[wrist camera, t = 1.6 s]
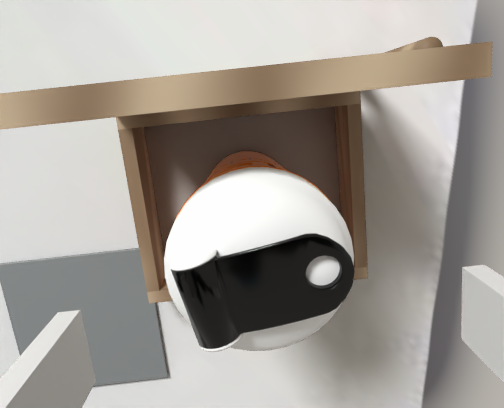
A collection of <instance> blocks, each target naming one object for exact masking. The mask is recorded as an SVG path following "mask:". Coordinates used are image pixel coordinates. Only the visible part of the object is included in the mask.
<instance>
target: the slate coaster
mask: <svg viewBox="0 0 504 408" xmlns="http://www.w3.org/2000/svg"><path fill="white" fill-rule="evenodd" d="M0 282H1V286H2V290H3V293H4V297H5V301H6V305H7V308H8V312H9V316H10V320H11V323H12V327H13V331H14V335H15V338H16V342H17V346H18V350H19V353H20V356H21V354H22V353H23V352H24V351H25V350H26V349H27V347H28V346H29V345H30V344H31V343H32V342H33V341H34V339H35V338H36V337H37V336H38V335H39V334H40V332H41V331H42V330H43V329H44V328H45V327H46V325H47V324H48V323H49V322H50V321H51V320H52V319H53V317H54V316H55V315H56V314H57V313H58V312H66V311H75V310H80V311H81V315H82V320H83V324H84V329H85V333H86V338H87V342H88V347H89V351H90V356H91V361H92V365H93V370H94V374H95V379H96V381H95V383H94V385H93V386H99V385H108V384H116V383H124V382H133V381H141V380H150V379H158V378H167V377H168V371H167V366H166V360H165V354H164V348H163V343H162V337H161V331H160V325H159V320H158V314H157V308H156V303H149V300H148V295H147V289H146V284H145V278H144V272H143V267H142V261H141V256H140V250H139V248H134V249H125V250H117V251H108V252H99V253H90V254H81V255H72V256H64V257H55V258H46V259H37V260H28V261H19V262H11V263H2V264H0Z"/></svg>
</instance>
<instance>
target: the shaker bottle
mask: <svg viewBox="0 0 504 408" xmlns="http://www.w3.org/2000/svg"><path fill="white" fill-rule="evenodd" d="M164 269H165V279H166V283H167V286H168V290H169V294H170V296H171V298H172V300H173V302H174V304H175V305H176V307H177V309H178V311H179V312H180V313H181V314H182V316H183V317H184V318H185V319H186V321H187V322H188V323H189V324H190V325H191V326H192V327H193V330H194V332H195V335H196V338H197V340H198V343H199V345H200V347H201V348H202V349H203V350H205V351H208V352H217V351H222V350H225V349H227V348H229V347H231V348H235V349H242V350H248V351H265V350H273V349H278V348H283V347H287V346H289V345H292V344H294V343H297V342H299V341H302V340H304V339H305V338H307V337H309V336H310V335H312V334H313V333H315V332H317V331H318V330H319V329H320V328H321V327H322V326H323V325H325V324H326V323H327V322H328V321H329V320H330V319H331V318H332V316H333V315H334V314H335V313H336V311H337V310H338V309H339V307H340V306H341V304H342V302H343V301H344V300H345V298H346V296H347V294H348V293H349V291H350V289H351V287H352V284H353V279H354V272H355V269H354V252H353V246H352V239H351V236H350V233H349V231H348V228H347V225H346V223H345V221H344V219H343V218H342V216H341V215H340V213H339V211H338V210H337V208H336V207H335V206H334V205H333V204H332V203H331V202H330V200H329V199H328V197H327V196H326V195H325V194H324V193H323V192H322V191H321V190H320V189H319V188H318V187H317V186H315V185H314V184H312V183H311V182H309V181H308V180H306V179H305V178H303V177H302V176H300V175H297V174H295V173H292V172H290V171H287V170H286V169H285V168H283V167H282V166H281V165H279V164H278V163H277V162H276V161H274V160H273V159H271V158H270V157H268V156H267V155H264V154H262V153H259V152H254V151H242V152H237V153H234V154H231V155H229V156H227V157H226V158H224V159H223V160H221V161H220V162H219V163H218V164H217V165H216V166H215V168H214V169H213V171H212V172H211V174H210V175H209V177H208V178H207V180H206V181H205V183H204V184H203V185H202V186H200V187H199V188H198V189H197V190H196V191H195V192H194V193H193V194H192V195H191V196H190V197H189V198H188V199H187V200H186V202H185V203H184V205H183V206H182V208H181V209H180V211H179V213H178V214H177V216H176V219H175V222H174V224H173V226H172V229H171V232H170V234H169V237H168V239H167V243H166V249H165V256H164Z"/></svg>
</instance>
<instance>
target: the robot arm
mask: <svg viewBox="0 0 504 408" xmlns="http://www.w3.org/2000/svg"><path fill="white" fill-rule="evenodd" d="M461 328H462V329H461V339H462V340H463V341H464V342H465V343H466V344H467V345H468V346H469V347H470V348H471V349H472V350H473V352H474V353H476V355H477V356H478V357H479V358H480V359H481V360H482V361H483V362H484V363H485V364H486V365H487V366H488V367H489V368H490V369H491V370H492V371H493V372H494V373H495V374H496V375H497V377H498V378H499V379H500V380H501V381H502V382H503V383H504V277H503V276H501V275H500V274H498V273H497V272H495V271H493V270H492V269H490V268H489V267H487V266H486V265H478V266H468V267H463V268H462V325H461ZM95 381H96V379H95V374H94V370H93V365H92V361H91V356H90V351H89V347H88V342H87V338H86V333H85V329H84V324H83V320H82V315H81V311H80V310H75V311H66V312H58V313H57V314H56V315H55V316H54V317H53V319H52V320H51V321H50V322H49V323H48V324H47V325H46V327H45V328H44V329H43V330H42V331H41V332H40V334H39V335H38V336H37V337H36V338H35V339H34V341H33V342H32V343H31V344H30V345H29V346H28V347H27V349H26V350H25V351H24V352H23V353H22V354H21V356H20V357H19V358H18V359H17V360H16V361H15V362H14V364H13V365H12V366H11V367H10V368H9V369H8V371H7V372H6V373H5V374H4V375H3V376H2V377H1V379H0V408H82V406H83V404H84V402H85V401H86V399H87V397H88V395H89V393H90V391H91V389H92V387H93V385H94V383H95Z"/></svg>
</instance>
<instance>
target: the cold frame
mask: <svg viewBox="0 0 504 408" xmlns="http://www.w3.org/2000/svg"><path fill="white" fill-rule="evenodd" d="M491 75H492V42H484V43H475V44H465V45H456V46H446V47H443V45H442V42H441V41H440V40H439V39H438V38H436V37H428V38H425V39H423V40H420V41H417V42H414V43H411V44H408V45H405V46H402V47H399V48H397V49H394V50H391V51H388V52H385V53H380V54H370V55H361V56H352V57H342V58H333V59H323V60H314V61H304V62H295V63H285V64H276V65H266V66H257V67H247V68H238V69H229V70H219V71H210V72H200V73H191V74H181V75H172V76H162V77H153V78H143V79H134V80H124V81H115V82H106V83H96V84H87V85H77V86H68V87H58V88H49V89H39V90H30V91H20V92H11V93H1V94H0V129H9V128H18V127H27V126H37V125H46V124H55V123H65V122H74V121H83V120H93V119H102V118H111V117H116V121H117V126H118V132H119V138H120V143H121V149H122V154H123V160H124V166H125V171H126V177H127V182H128V188H129V194H130V199H131V205H132V211H133V216H134V222H135V227H136V233H137V239H138V244H139V250H140V256H141V261H142V267H143V272H144V278H145V284H146V289H147V295H148V300H149V303H157V302H166V301H173V300H172V298H171V296H170V294H169V290H168V286H167V283H166V279H165V269H164V250H163V244H162V237H161V231H160V225H159V219H158V213H157V207H156V201H155V195H154V188H153V182H152V176H151V170H150V164H149V158H148V152H147V146H146V140H145V133H144V127H148V126H158V125H167V124H176V123H185V122H195V121H204V120H213V119H223V118H232V117H241V116H250V115H260V114H269V113H278V112H287V111H297V110H306V109H315V108H325V107H334V106H335V121H336V139H337V157H338V175H339V193H340V211H341V216H342V218H343V219H344V221H345V223H346V225H347V228H348V231H349V233H350V236H351V239H352V246H353V252H354V269H355V272H354V279H353V280H356V279H365V278H368V268H367V244H366V220H365V195H364V171H363V147H362V122H361V98H360V91H363V90H372V89H382V88H391V87H400V86H410V85H419V84H428V83H438V82H447V81H456V80H466V79H475V78H484V77H491Z"/></svg>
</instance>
